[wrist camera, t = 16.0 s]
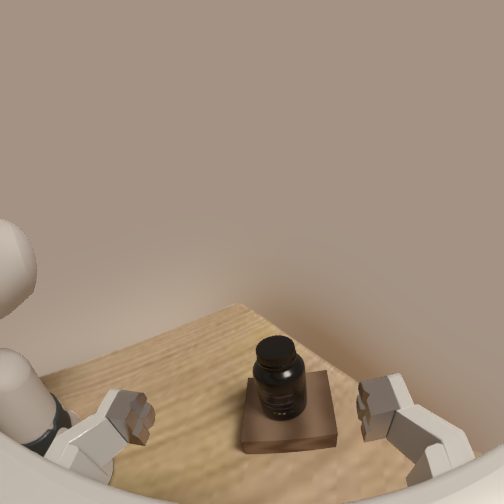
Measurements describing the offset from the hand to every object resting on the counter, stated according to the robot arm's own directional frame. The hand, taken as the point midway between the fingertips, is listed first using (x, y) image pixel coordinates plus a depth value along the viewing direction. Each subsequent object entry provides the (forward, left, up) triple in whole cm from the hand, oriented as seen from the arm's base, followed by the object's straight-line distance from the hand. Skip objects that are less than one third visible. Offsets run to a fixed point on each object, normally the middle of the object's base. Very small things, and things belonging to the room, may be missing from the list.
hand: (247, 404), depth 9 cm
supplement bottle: (-1, +20, -26) cm, 33 cm away
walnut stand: (0, +20, -30) cm, 36 cm away
